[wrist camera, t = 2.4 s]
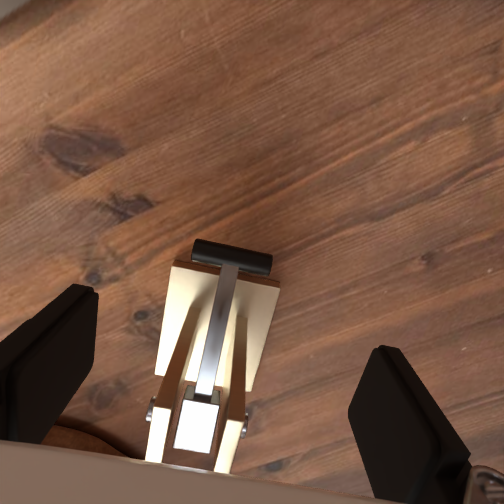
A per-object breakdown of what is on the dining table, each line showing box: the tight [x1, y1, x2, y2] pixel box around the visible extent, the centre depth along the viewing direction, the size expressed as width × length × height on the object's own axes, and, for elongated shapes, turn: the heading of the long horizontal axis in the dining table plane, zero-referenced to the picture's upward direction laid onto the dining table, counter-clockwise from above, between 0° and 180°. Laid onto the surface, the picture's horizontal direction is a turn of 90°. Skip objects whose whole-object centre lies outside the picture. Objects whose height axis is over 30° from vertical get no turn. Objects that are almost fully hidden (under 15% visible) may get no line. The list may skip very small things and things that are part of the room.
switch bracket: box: [145, 260, 281, 474], centre depth 24 cm, size 11×9×12 cm
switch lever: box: [173, 239, 273, 454], centre depth 21 cm, size 12×5×2 cm, turn 167°
